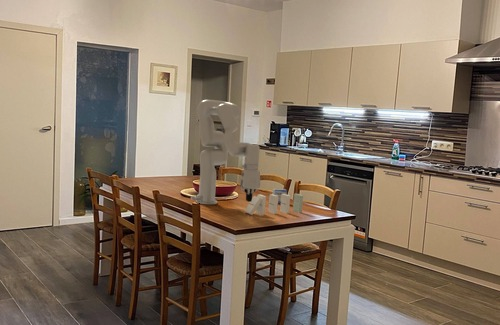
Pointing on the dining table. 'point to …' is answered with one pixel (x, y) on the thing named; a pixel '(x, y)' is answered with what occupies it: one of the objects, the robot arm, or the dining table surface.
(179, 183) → the dining table surface
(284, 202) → the domino
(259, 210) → the domino
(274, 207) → the domino
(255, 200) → the domino
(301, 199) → the domino
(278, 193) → the medicine box
